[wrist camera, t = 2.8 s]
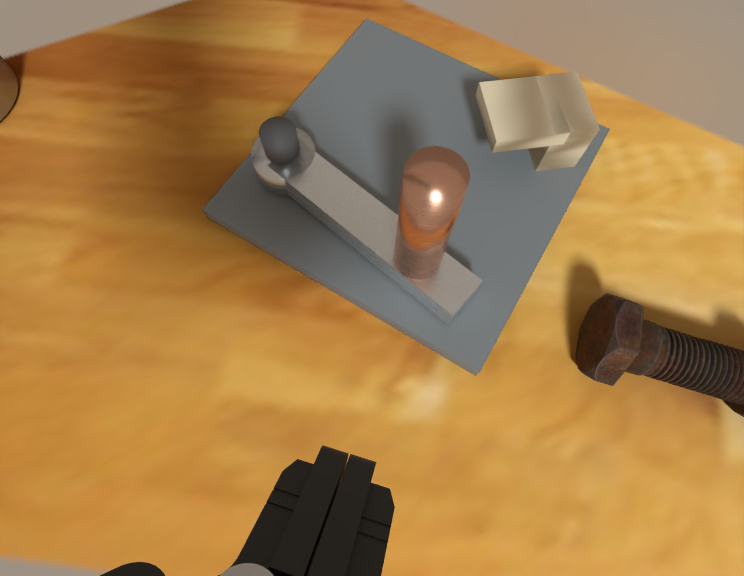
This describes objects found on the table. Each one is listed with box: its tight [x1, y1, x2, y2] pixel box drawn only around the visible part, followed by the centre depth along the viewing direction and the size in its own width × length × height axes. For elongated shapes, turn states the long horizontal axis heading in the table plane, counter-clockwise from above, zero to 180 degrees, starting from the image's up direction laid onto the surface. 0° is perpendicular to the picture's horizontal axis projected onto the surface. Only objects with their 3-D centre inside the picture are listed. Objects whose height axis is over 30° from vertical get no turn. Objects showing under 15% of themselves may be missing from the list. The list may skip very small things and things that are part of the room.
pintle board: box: [203, 19, 610, 376], centre depth 33 cm, size 22×22×6 cm
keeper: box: [476, 72, 600, 171], centre depth 34 cm, size 7×5×4 cm
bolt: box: [576, 294, 744, 417], centre depth 29 cm, size 6×5×15 cm
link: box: [251, 128, 483, 325], centre depth 27 cm, size 18×4×11 cm, turn 48°
